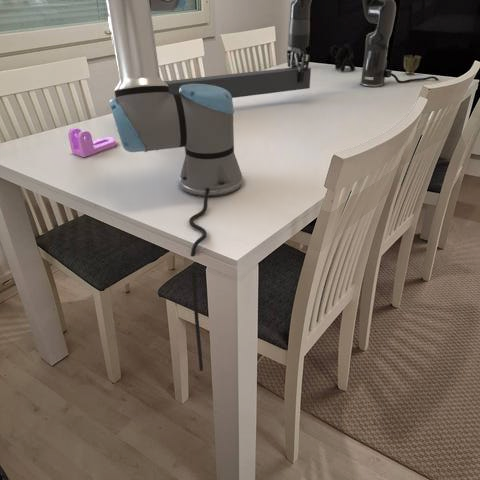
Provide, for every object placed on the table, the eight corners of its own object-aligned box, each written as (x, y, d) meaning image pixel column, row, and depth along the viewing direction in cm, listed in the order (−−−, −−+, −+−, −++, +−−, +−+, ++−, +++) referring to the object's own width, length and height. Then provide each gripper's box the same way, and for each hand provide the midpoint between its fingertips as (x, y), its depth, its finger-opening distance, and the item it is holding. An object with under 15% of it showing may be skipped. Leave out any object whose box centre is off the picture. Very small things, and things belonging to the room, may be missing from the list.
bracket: (84, 157, 126) (79, 133, 123) (72, 153, 129) (66, 129, 126) (119, 144, 135) (116, 121, 131) (108, 140, 138) (104, 118, 134)
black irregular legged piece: (345, 81, 223) (323, 62, 226) (359, 67, 223) (338, 48, 225) (346, 70, 212) (324, 50, 215) (362, 55, 211) (339, 35, 214)
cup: (399, 75, 209) (402, 56, 205) (402, 71, 214) (405, 54, 210) (416, 76, 206) (419, 57, 202) (418, 73, 211) (422, 55, 207)
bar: (122, 111, 148) (118, 89, 144) (119, 108, 152) (116, 86, 148) (309, 88, 171) (310, 68, 167) (303, 85, 175) (304, 66, 171)
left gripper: (140, 33, 133) (150, 111, 145) (129, 28, 148) (139, 99, 160) (115, 35, 131) (127, 114, 143) (106, 29, 145) (118, 102, 157)
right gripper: (318, 33, 157) (315, 84, 166) (298, 29, 168) (296, 76, 177) (299, 35, 154) (297, 86, 163) (280, 30, 165) (279, 78, 175)
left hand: (133, 106), depth 151 cm, fingers closed on bar, 5 cm apart
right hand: (296, 80), depth 170 cm, fingers closed on bar, 5 cm apart
